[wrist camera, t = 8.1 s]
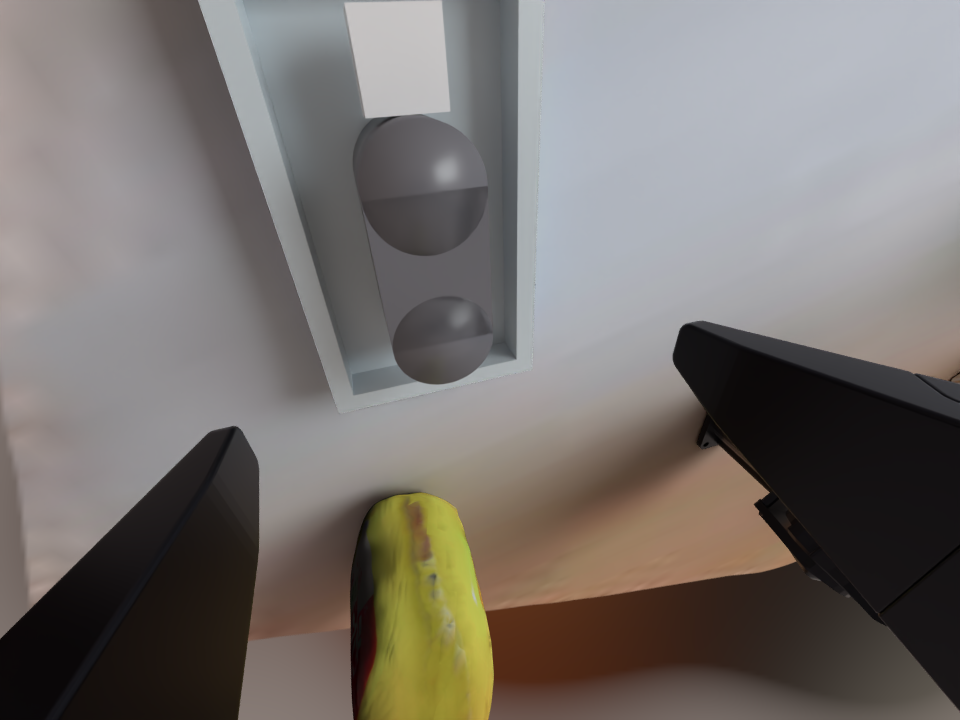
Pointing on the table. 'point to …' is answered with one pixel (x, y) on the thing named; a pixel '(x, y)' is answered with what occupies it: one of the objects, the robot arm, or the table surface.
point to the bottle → (417, 616)
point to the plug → (420, 193)
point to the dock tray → (331, 183)
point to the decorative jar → (956, 379)
